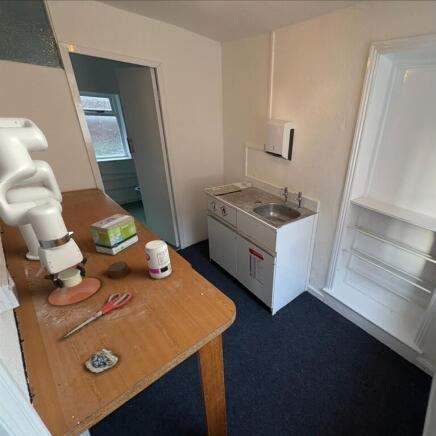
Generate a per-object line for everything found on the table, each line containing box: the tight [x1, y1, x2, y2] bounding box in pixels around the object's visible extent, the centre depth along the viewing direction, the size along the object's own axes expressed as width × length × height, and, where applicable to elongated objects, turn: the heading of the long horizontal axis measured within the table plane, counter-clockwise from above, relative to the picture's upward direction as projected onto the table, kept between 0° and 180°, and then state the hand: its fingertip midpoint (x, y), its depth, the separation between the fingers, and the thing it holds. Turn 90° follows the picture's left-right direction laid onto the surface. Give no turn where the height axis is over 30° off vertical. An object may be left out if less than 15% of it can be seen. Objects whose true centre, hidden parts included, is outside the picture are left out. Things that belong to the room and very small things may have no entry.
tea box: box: [89, 213, 139, 256], centre depth 115 cm, size 15×10×15 cm
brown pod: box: [107, 261, 129, 279], centre depth 99 cm, size 7×7×4 cm
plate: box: [47, 277, 101, 306], centre depth 89 cm, size 15×15×1 cm
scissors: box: [65, 292, 133, 337], centre depth 80 cm, size 8×21×2 cm, turn 170°
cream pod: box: [58, 268, 83, 288], centre depth 87 cm, size 6×6×4 cm
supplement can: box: [144, 239, 172, 280], centre depth 99 cm, size 8×8×15 cm
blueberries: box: [84, 348, 119, 374], centre depth 66 cm, size 7×8×2 cm
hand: (71, 280), depth 87 cm, fingers closed on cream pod, 6 cm apart
